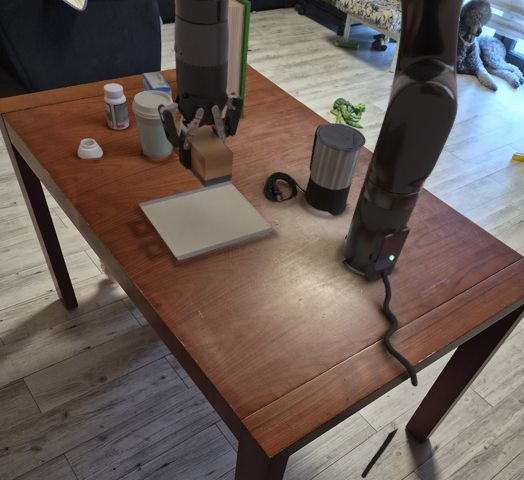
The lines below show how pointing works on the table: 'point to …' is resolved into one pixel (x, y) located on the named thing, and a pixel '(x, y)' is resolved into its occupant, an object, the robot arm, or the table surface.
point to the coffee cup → (152, 122)
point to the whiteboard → (204, 219)
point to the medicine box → (156, 83)
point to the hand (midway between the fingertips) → (202, 163)
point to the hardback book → (237, 48)
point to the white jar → (89, 149)
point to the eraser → (209, 157)
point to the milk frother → (326, 169)
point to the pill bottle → (116, 106)
